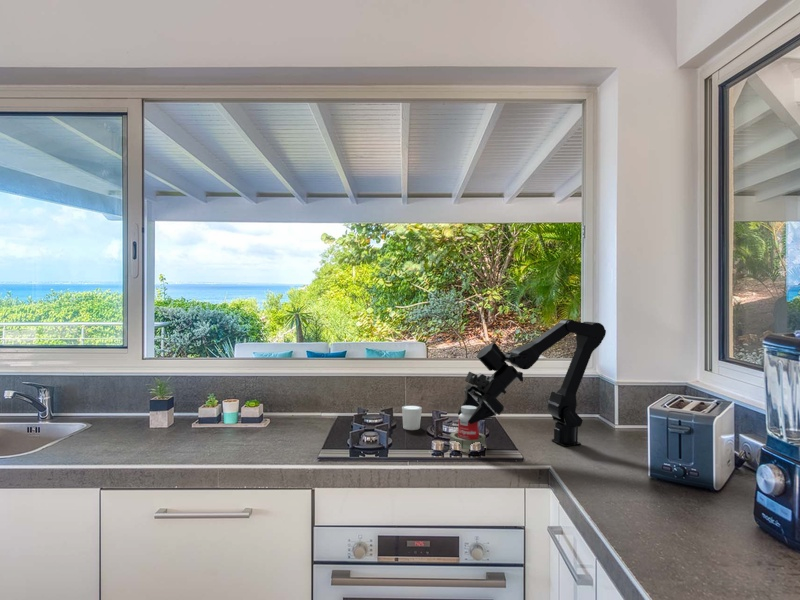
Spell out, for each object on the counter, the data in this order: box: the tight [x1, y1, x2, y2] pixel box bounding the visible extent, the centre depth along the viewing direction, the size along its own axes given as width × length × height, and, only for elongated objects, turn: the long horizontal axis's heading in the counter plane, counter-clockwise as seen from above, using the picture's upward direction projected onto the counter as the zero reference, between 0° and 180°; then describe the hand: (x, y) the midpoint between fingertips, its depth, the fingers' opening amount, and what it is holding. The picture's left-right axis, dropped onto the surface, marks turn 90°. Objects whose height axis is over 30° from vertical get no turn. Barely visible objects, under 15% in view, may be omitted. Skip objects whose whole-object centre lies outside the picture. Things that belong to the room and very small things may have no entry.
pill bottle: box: [457, 405, 480, 440], centre depth 148 cm, size 6×6×11 cm
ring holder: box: [449, 430, 487, 452], centre depth 148 cm, size 11×11×4 cm
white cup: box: [401, 404, 423, 431], centre depth 169 cm, size 7×7×7 cm
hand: (463, 418), depth 148 cm, fingers open, 9 cm apart
